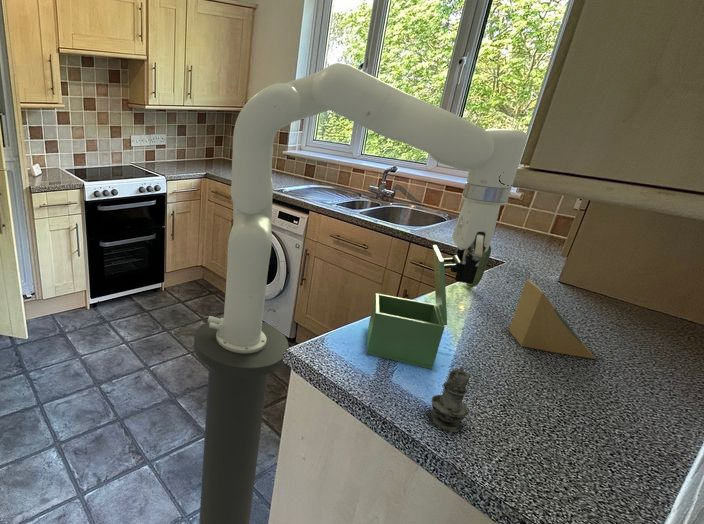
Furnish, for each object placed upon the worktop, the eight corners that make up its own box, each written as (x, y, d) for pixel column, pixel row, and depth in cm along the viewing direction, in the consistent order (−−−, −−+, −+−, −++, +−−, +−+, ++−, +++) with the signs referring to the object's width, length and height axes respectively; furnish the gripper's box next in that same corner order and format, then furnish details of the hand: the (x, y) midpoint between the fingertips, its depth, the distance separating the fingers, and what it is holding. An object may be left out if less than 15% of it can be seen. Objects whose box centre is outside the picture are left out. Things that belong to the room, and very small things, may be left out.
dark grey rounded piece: (469, 435, 72) (489, 379, 68) (433, 430, 73) (451, 374, 69) (455, 412, 78) (472, 359, 73) (422, 407, 78) (437, 355, 74)
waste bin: (366, 353, 95) (375, 313, 91) (367, 330, 105) (375, 293, 101) (432, 369, 90) (444, 327, 86) (426, 343, 100) (437, 304, 96)
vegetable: (480, 289, 133) (498, 231, 125) (477, 293, 130) (496, 233, 123) (464, 285, 135) (481, 227, 128) (461, 289, 132) (479, 230, 125)
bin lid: (439, 261, 83) (468, 259, 81) (432, 245, 93) (458, 243, 91) (442, 325, 86) (471, 325, 84) (435, 302, 96) (460, 302, 94)
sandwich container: (597, 360, 96) (623, 303, 91) (521, 346, 101) (542, 292, 95) (578, 341, 104) (601, 288, 99) (508, 329, 108) (526, 278, 103)
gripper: (456, 185, 90) (435, 261, 96) (472, 199, 75) (447, 288, 81) (496, 188, 87) (472, 267, 94) (521, 204, 72) (491, 296, 79)
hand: (461, 276), depth 87 cm, fingers closed on bin lid, 5 cm apart
